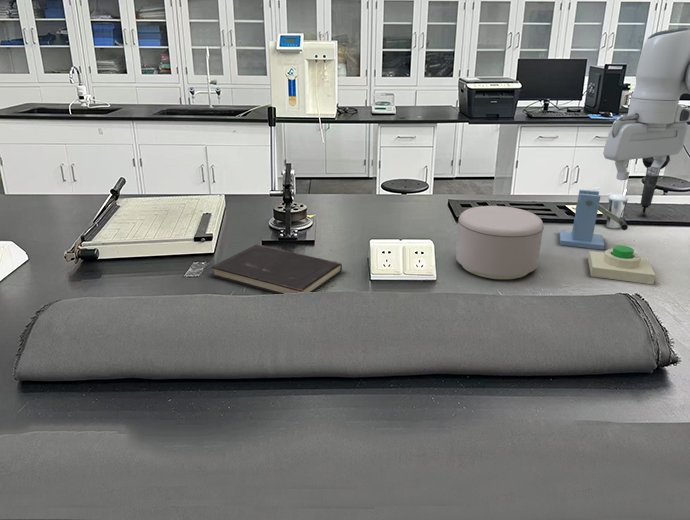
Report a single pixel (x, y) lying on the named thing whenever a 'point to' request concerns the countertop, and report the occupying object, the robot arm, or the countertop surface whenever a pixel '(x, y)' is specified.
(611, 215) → the light lever
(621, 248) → the light button
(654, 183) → the microphone
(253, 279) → the hardcover book
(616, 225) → the milkshake
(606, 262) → the switch block
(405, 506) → the countertop surface
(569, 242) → the lever bracket
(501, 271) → the container
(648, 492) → the countertop surface
